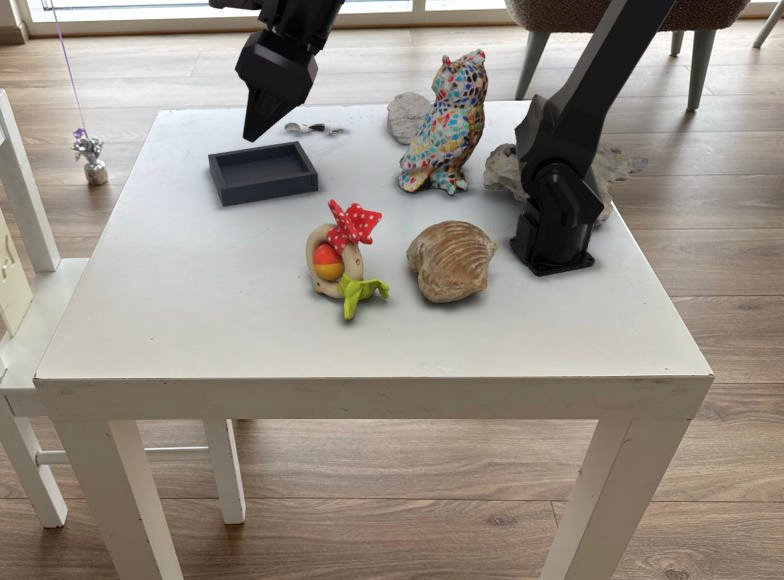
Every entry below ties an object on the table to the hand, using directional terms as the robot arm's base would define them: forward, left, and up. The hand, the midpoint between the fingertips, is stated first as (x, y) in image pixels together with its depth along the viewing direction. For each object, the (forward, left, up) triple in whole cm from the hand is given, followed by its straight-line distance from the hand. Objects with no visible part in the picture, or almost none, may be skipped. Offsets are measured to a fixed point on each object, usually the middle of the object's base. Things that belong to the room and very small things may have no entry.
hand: (257, 118), depth 71 cm
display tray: (-2, -14, -14) cm, 20 cm away
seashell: (-16, +13, -14) cm, 25 cm away
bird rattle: (-5, +12, -14) cm, 19 cm away
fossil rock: (-36, -5, -11) cm, 38 cm away
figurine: (-23, -7, -14) cm, 27 cm away
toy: (-12, -23, -14) cm, 29 cm away
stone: (-25, -21, -14) cm, 36 cm away
